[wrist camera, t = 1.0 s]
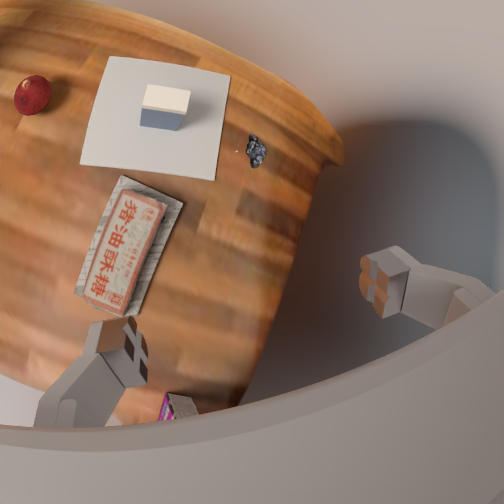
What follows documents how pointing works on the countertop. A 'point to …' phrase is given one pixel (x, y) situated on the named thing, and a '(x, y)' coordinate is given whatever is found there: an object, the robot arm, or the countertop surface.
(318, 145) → the countertop surface
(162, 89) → the card box
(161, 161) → the rubber mat
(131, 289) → the packaged product
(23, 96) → the onion
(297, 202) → the countertop surface
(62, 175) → the countertop surface
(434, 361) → the robot arm
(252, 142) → the blueberries
